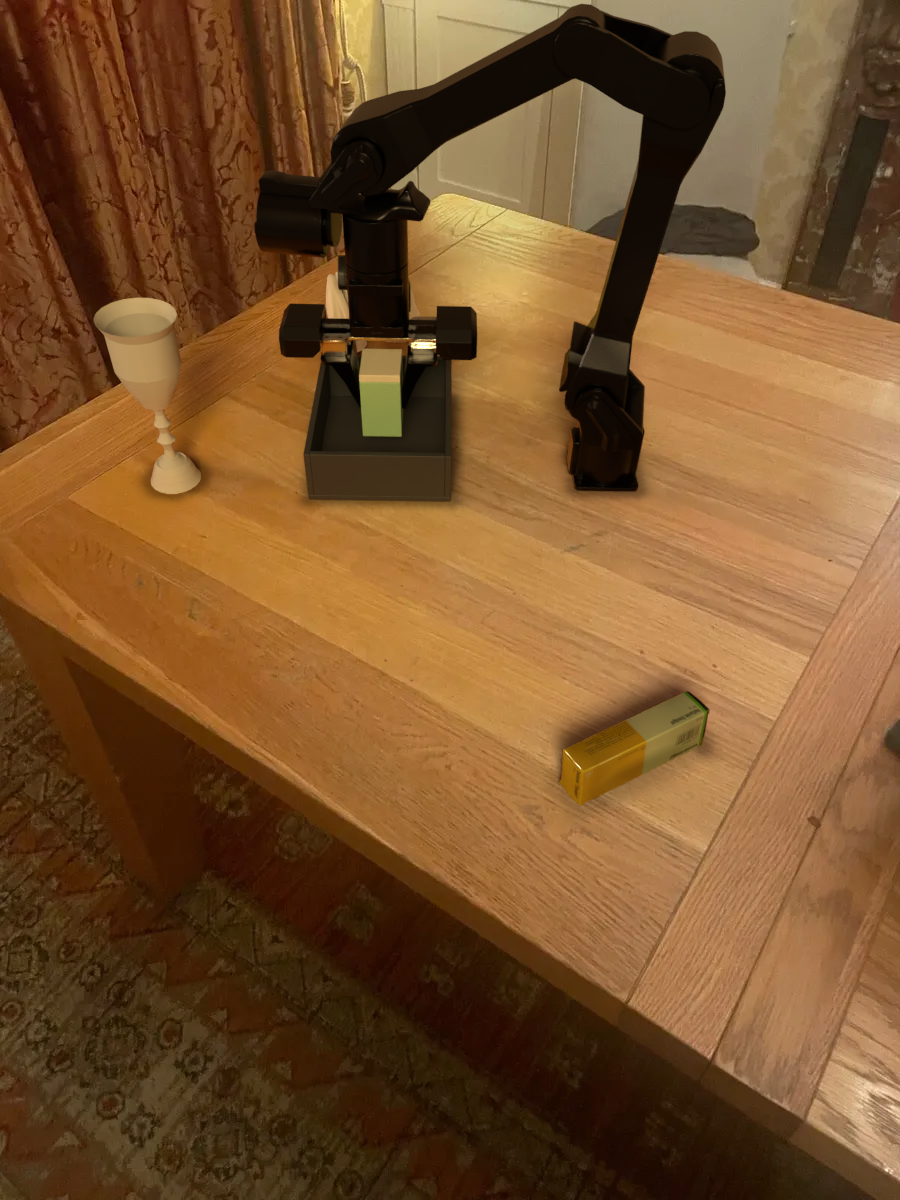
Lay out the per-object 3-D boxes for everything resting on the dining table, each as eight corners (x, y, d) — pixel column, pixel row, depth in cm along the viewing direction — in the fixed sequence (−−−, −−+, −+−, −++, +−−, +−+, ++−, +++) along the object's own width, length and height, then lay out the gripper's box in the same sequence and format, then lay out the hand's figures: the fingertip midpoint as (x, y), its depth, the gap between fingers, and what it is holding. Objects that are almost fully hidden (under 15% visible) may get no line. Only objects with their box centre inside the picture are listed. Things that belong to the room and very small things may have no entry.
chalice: (225, 469, 94) (193, 308, 81) (185, 507, 90) (144, 344, 77) (167, 450, 96) (126, 290, 83) (125, 487, 92) (76, 324, 79)
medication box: (681, 722, 72) (689, 687, 70) (704, 745, 71) (713, 709, 68) (557, 783, 68) (560, 747, 65) (578, 808, 66) (583, 773, 64)
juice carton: (403, 409, 97) (402, 348, 91) (401, 437, 93) (400, 375, 88) (366, 408, 97) (362, 348, 91) (362, 436, 93) (358, 375, 88)
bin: (450, 399, 104) (451, 356, 100) (450, 501, 91) (451, 456, 87) (326, 397, 103) (322, 353, 99) (308, 499, 91) (303, 454, 87)
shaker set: (418, 328, 114) (418, 242, 106) (428, 345, 112) (428, 258, 104) (325, 342, 112) (317, 255, 104) (333, 359, 109) (325, 271, 101)
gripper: (477, 223, 88) (472, 365, 99) (285, 220, 88) (301, 363, 99) (480, 277, 80) (473, 425, 91) (269, 274, 80) (288, 422, 91)
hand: (383, 406), depth 93 cm, fingers closed on juice carton, 4 cm apart
